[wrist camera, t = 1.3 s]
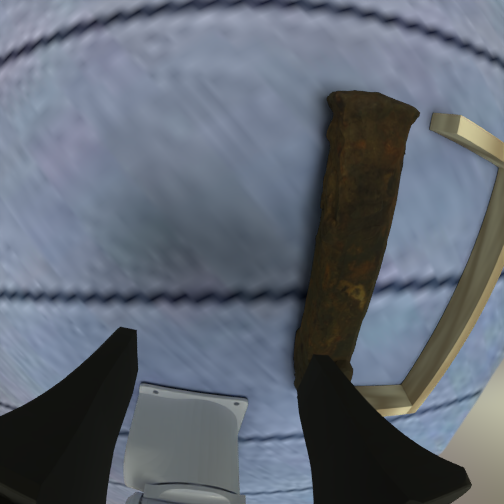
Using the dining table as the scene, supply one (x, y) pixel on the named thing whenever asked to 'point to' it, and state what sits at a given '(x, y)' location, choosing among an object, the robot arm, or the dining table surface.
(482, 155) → the beige bent bracket
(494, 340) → the dining table surface
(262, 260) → the dining table surface
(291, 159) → the dining table surface
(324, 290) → the hand tool
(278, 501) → the dining table surface
